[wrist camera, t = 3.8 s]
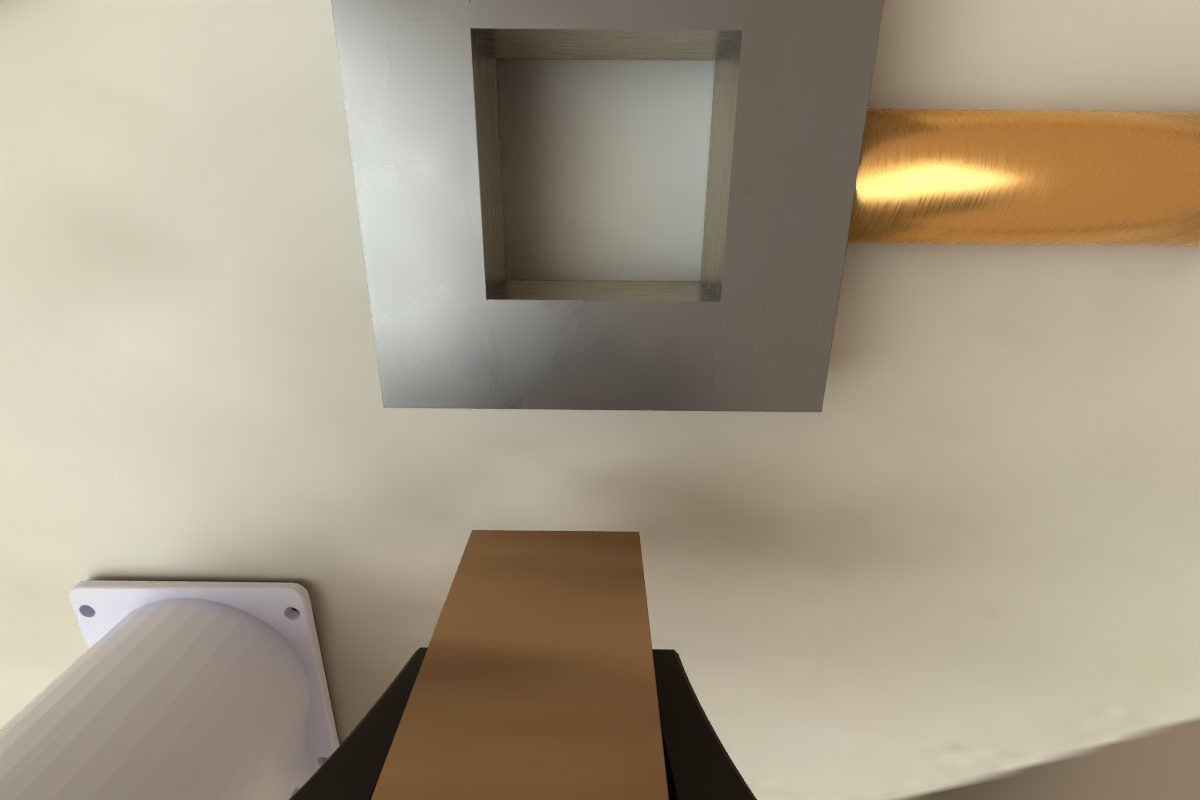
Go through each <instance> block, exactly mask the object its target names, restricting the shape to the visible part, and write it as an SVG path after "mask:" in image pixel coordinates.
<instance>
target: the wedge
mask: <svg viewBox="0 0 1200 800" xmlns="http://www.w3.org/2000/svg"><path fill="white" fill-rule="evenodd" d="M371 800H669V797H668V788H667V779H666V770H665V761H664V752H663V743H662V734H661V725H660V716H659V707H658V698H657V689H656V680H655V671H654V662H653V653H652V644H651V635H650V626H649V617H648V608H647V599H646V590H645V581H644V572H643V563H642V554H641V545H640V536H639V532H606V531H506V530H472V532H471V535H470V538H469V540H468V543H467V546H466V548H465V551H464V554H463V556H462V559H461V562H460V564H459V567H458V570H457V572H456V575H455V578H454V580H453V583H452V585H451V588H450V591H449V593H448V596H447V599H446V601H445V604H444V607H443V609H442V612H441V615H440V617H439V620H438V623H437V625H436V628H435V631H434V633H433V636H432V639H431V641H430V644H429V647H428V649H427V652H426V655H425V657H424V660H423V662H422V665H421V668H420V670H419V673H418V676H417V678H416V681H415V684H414V686H413V689H412V692H411V694H410V697H409V700H408V702H407V705H406V708H405V710H404V713H403V716H402V718H401V721H400V724H399V726H398V729H397V732H396V734H395V737H394V740H393V742H392V745H391V747H390V750H389V753H388V755H387V758H386V761H385V763H384V766H383V769H382V771H381V774H380V777H379V779H378V782H377V785H376V787H375V790H374V793H373V795H372V798H371Z"/></svg>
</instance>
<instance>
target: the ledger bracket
mask: <svg viewBox="0 0 1200 800" xmlns="http://www.w3.org/2000/svg"><path fill="white" fill-rule="evenodd" d="M331 4H332V12H333V20H334V27H335V35H336V43H337V51H338V58H339V66H340V74H341V82H342V89H343V97H344V105H345V113H346V121H347V128H348V136H349V144H350V152H351V159H352V167H353V175H354V183H355V190H356V198H357V206H358V214H359V221H360V229H361V237H362V245H363V252H364V260H365V268H366V276H367V284H368V291H369V299H370V307H371V315H372V322H373V330H374V338H375V346H376V353H377V361H378V369H379V377H380V384H381V392H382V400H383V408H471V409H569V410H666V411H763V412H821V411H822V405H823V398H824V392H825V385H826V378H827V372H828V365H829V358H830V352H831V345H832V338H833V332H834V325H835V318H836V312H837V305H838V299H839V292H840V285H841V279H842V272H843V265H844V259H845V252H846V245H847V242H853V243H959V244H1066V245H1173V246H1200V112H1132V111H1017V110H901V109H867V106H868V99H869V93H870V86H871V79H872V73H873V66H874V60H875V53H876V46H877V40H878V33H879V26H880V20H881V13H882V6H883V0H331ZM496 58H511V59H630V60H716V63H715V77H714V92H713V107H712V122H711V136H710V151H709V166H708V181H707V195H706V210H705V225H704V240H703V254H702V269H701V282H667V281H563V280H506V261H505V240H504V219H503V197H502V176H501V154H500V133H499V112H498V90H497V69H496Z"/></svg>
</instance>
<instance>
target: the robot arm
mask: <svg viewBox="0 0 1200 800" xmlns="http://www.w3.org/2000/svg"><path fill="white" fill-rule="evenodd" d="M69 599H70V602H71V604H72V607H73V610H74V612H75V615H76V618H77V620H78V623H79V626H80V628H81V631H82V634H83V636H84V639H85V642H86V644H87V647H88V650H87V651H86V652H85V653H84V654H83V655H82V656H81V657H80V658H78V659H77V660H76V661H75V662H74V663H73V664H72V665H71V666H70V667H69V668H67V669H66V670H65V671H64V672H63V673H62V674H61V675H60V676H59V677H57V678H56V679H55V680H54V681H53V682H52V683H51V684H50V685H49V686H47V687H46V688H45V689H44V690H43V691H42V692H41V693H40V694H39V695H37V696H36V697H35V698H34V699H33V700H32V701H31V702H30V703H29V704H27V705H26V706H25V707H24V708H23V709H22V710H21V711H20V712H19V713H18V714H16V715H15V716H14V717H13V718H12V719H11V720H10V721H9V722H8V723H6V724H5V725H4V726H3V727H2V728H1V729H0V800H371V798H372V795H373V793H374V790H375V787H376V785H377V782H378V779H379V777H380V774H381V771H382V769H383V766H384V763H385V761H386V758H387V755H388V753H389V750H390V747H391V745H392V742H393V740H394V737H395V734H396V732H397V729H398V726H399V724H400V721H401V718H402V716H403V713H404V710H405V708H406V705H407V702H408V700H409V697H410V694H411V692H412V689H413V686H414V684H415V681H416V678H417V676H418V673H419V670H420V668H421V665H422V662H423V660H424V657H425V655H426V652H427V649H428V648H419V649H418V650H417V651H416V652H415V653H414V654H413V656H412V657H411V658H410V660H409V661H408V662H407V664H406V665H405V666H404V668H403V669H402V670H401V672H400V673H399V674H398V676H397V677H396V678H395V680H394V681H393V682H392V683H391V685H390V686H389V687H388V689H387V690H386V691H385V692H384V694H383V695H382V696H381V697H380V699H379V700H378V701H377V702H376V704H375V705H374V706H373V707H372V708H371V710H370V711H369V712H368V713H367V714H366V716H365V717H364V718H363V719H362V720H361V722H360V723H359V724H358V725H357V726H356V728H355V729H354V730H353V731H352V732H351V734H350V735H349V736H348V737H347V738H346V739H345V740H344V742H343V743H342V744H341V745H340V746H339V742H338V737H337V732H336V727H335V722H334V717H333V712H332V707H331V702H330V697H329V692H328V687H327V682H326V677H325V672H324V667H323V662H322V657H321V652H320V647H319V642H318V637H317V632H316V627H315V622H314V617H313V612H312V607H311V602H310V597H309V594H308V591H307V590H306V589H305V588H304V587H303V586H301V585H300V584H297V583H278V582H189V581H100V580H86V581H81V582H80V583H78V584H77V585H76V586H74V587H73V588H72V589H70V592H69ZM291 607H292V608H295V609H297V610H298V611H299V612H297V611H294V610H293V609H292V608H291ZM652 653H653V662H654V671H655V680H656V689H657V698H658V707H659V716H660V725H661V734H662V743H663V752H664V761H665V770H666V779H667V788H668V797H669V800H757V799H756V798H755V796H754V795H753V793H752V792H751V790H750V789H749V787H748V786H747V784H746V782H745V781H744V779H743V778H742V776H741V774H740V773H739V771H738V770H737V768H736V767H735V765H734V763H733V762H732V760H731V758H730V757H729V755H728V753H727V752H726V750H725V748H724V747H723V745H722V743H721V741H720V740H719V738H718V736H717V734H716V732H715V731H714V729H713V727H712V725H711V724H710V722H709V720H708V718H707V716H706V714H705V712H704V710H703V709H702V707H701V705H700V703H699V701H698V698H697V696H696V694H695V692H694V690H693V688H692V686H691V684H690V682H689V679H688V677H687V675H686V672H685V670H684V668H683V665H682V662H681V660H680V657H679V654H678V653H677V652H676V651H675V650H659V649H652Z"/></svg>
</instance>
